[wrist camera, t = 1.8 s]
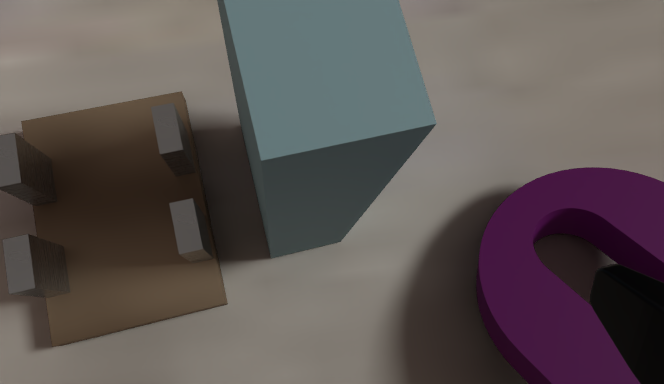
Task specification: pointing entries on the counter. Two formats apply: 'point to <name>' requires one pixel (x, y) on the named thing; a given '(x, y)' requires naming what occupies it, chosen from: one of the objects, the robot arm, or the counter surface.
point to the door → (323, 109)
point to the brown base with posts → (111, 218)
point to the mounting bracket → (550, 291)
